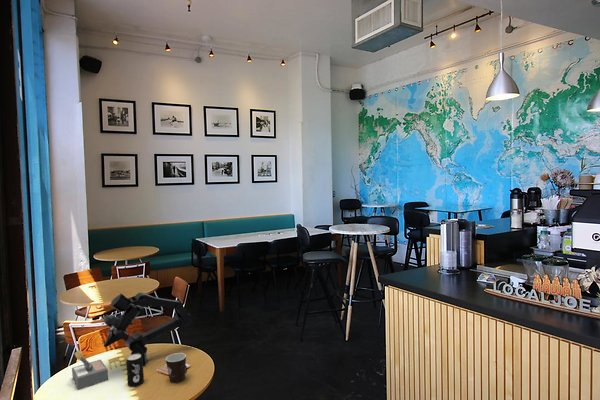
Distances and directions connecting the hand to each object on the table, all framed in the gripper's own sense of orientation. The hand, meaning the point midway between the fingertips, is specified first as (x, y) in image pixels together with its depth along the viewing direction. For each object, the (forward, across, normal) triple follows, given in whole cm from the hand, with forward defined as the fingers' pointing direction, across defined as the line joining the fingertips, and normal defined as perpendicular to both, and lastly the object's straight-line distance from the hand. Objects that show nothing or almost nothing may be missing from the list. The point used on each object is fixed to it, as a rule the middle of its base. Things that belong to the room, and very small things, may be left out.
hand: (104, 346), depth 186 cm
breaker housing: (+14, 0, +4) cm, 15 cm away
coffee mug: (-6, +29, +25) cm, 39 cm away
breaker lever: (+10, 0, 0) cm, 10 cm away
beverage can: (+4, +18, +15) cm, 24 cm away
